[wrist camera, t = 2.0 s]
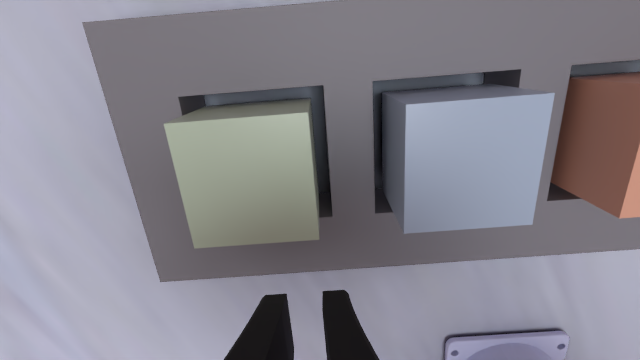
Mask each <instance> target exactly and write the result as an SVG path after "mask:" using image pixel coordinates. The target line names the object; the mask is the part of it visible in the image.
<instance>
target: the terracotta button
mask: <svg viewBox="0 0 640 360" xmlns="http://www.w3.org/2000/svg"><path fill="white" fill-rule="evenodd" d="M550 182H551V183H553V184H555V185H557V186H559V187H560V188H562V189H564V190H566V191H568V192H570V193H572V194H574V195H576V196H578V197H579V198H581V199H583V200H585V201H587V202H589V203H591V204H593V205H595V206H596V207H598V208H600V209H602V210H604V211H606V212H608V213H610V214H612V215H614V216H615V217H617V218H633V217H640V72H630V73H618V74H605V75H593V76H580V77H570V78H569V83H568V88H567V94H566V99H565V105H564V110H563V116H562V121H561V127H560V132H559V137H558V143H557V148H556V154H555V159H554V165H553V170H552V176H551V181H550Z"/></svg>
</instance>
